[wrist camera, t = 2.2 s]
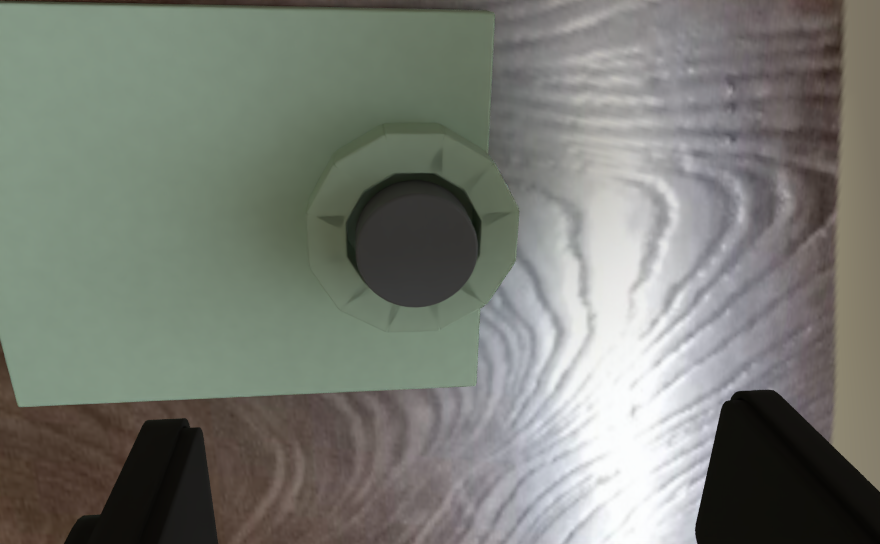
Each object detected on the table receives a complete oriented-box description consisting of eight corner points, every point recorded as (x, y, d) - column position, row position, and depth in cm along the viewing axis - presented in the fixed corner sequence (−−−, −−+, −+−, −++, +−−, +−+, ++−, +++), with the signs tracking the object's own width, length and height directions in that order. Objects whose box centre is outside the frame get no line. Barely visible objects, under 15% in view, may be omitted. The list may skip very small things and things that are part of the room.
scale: (510, 10, 21) (534, 15, 19) (489, 366, 27) (505, 411, 24) (-63, -1, 19) (-131, 2, 17) (34, 386, 25) (-6, 436, 22)
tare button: (472, 178, 21) (481, 193, 19) (468, 286, 22) (476, 307, 21) (353, 179, 20) (353, 194, 19) (357, 289, 22) (356, 310, 20)
